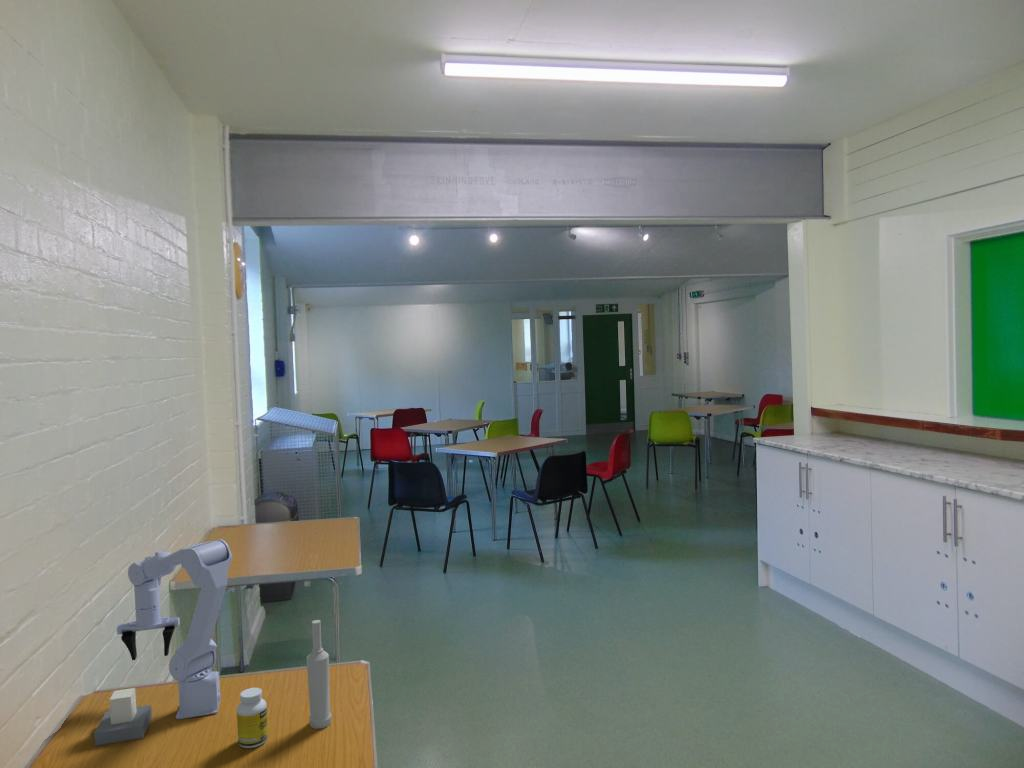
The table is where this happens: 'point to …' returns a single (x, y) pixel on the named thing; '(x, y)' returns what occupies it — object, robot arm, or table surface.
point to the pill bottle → (252, 718)
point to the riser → (123, 727)
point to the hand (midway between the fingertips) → (150, 656)
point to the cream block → (123, 706)
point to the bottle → (318, 681)
